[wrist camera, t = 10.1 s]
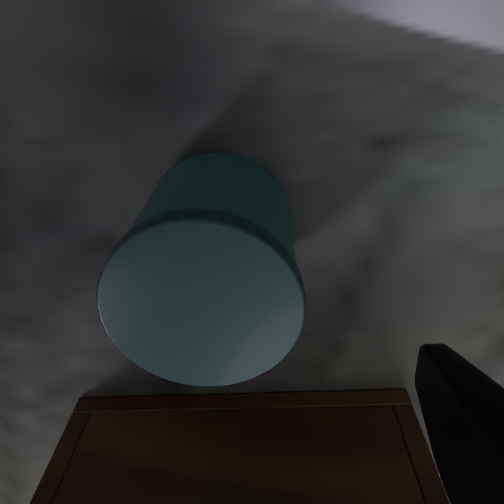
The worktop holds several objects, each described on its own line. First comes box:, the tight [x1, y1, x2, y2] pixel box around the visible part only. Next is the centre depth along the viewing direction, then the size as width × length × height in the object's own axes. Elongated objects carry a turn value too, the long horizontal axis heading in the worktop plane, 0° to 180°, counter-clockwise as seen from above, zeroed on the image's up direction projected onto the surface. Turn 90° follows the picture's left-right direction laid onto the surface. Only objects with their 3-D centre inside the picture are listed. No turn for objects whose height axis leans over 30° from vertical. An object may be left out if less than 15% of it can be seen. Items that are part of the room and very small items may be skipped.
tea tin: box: [96, 153, 306, 387], centre depth 12 cm, size 5×5×5 cm
